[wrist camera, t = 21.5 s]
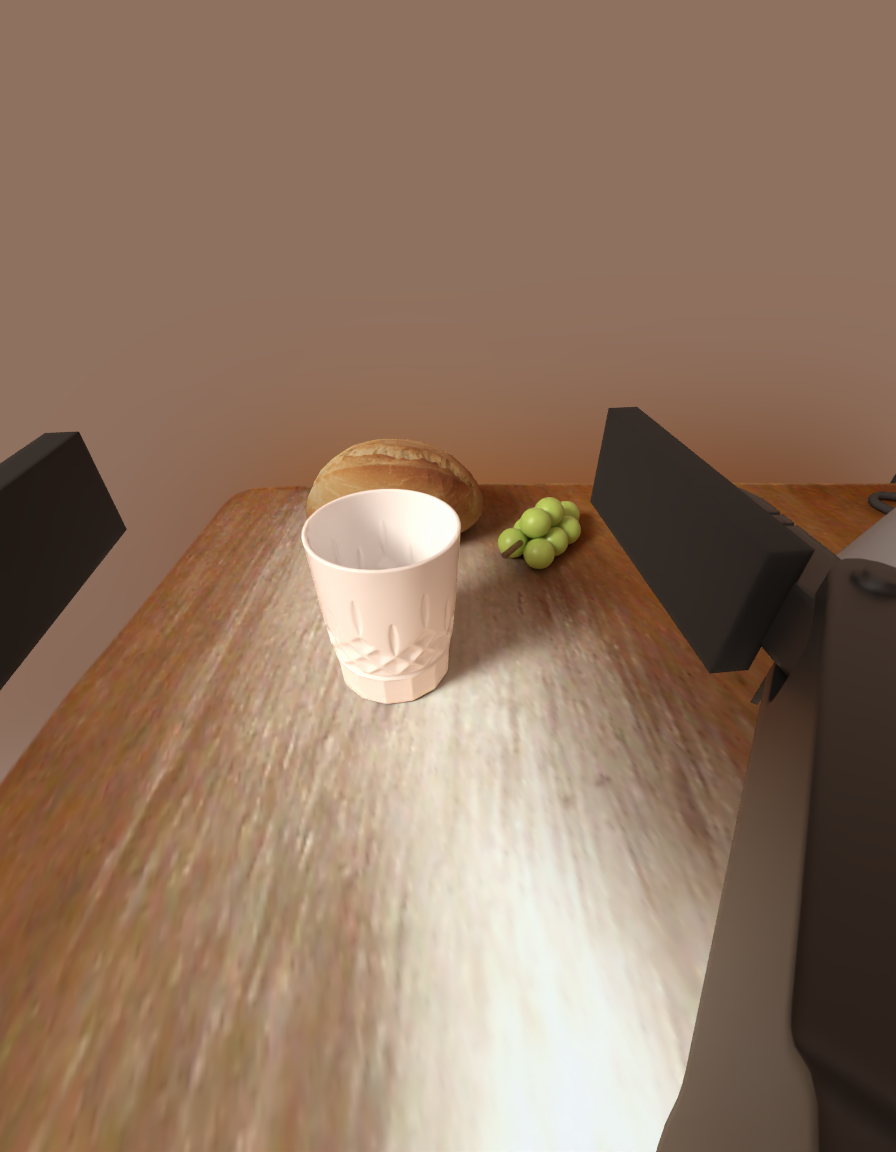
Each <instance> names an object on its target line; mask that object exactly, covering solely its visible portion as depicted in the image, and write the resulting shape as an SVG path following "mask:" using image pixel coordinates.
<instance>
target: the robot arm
mask: <svg viewBox="0 0 896 1152" xmlns="http://www.w3.org/2000/svg"><path fill="white" fill-rule="evenodd" d="M890 483H896V474H895V475H894V477H893V479H892V481H891V482H890ZM879 499H887V500H895V501H896V493H894V492H877V493H873V494H872V495H870V496H869V498H868V502H869V503H870V505H872V506H873V507H874V508H876V509H878V510H880V511H882V512H884V513H886V514H887V515H885V516H884V517H883V518H882V519H880V520H879V521H878V522H877V523H875V524H874V525H873V526H872V527H870V528H869V529H868V530H867V531H865V532H864V533H863V534H862V535H860V536H859V537H858V538H857V539H855V540H854V541H853V542H852V543H850V544H849V545H848V546H847V547H845V548H844V549H843V550H842V551H840V552H839V553H838V554H837V555H835V554H834V553H832V552H831V551H830V550H828V549H827V548H826V547H825V546H823V545H822V544H821V543H819V542H818V541H817V540H816V539H814V538H813V537H812V536H810V535H809V534H808V533H807V532H805V531H804V530H803V529H801V528H800V527H799V526H794V522H792V521H791V520H790V519H789V518H787V517H786V516H785V515H780V511H778V510H777V509H776V508H774V507H773V506H772V505H771V504H769V503H768V502H767V501H765V500H764V499H763V498H760V497H758V496H756V495H754V494H752V493H750V492H747V491H745V490H743V489H741V488H737V487H736V486H735V485H734V484H732V483H731V482H730V481H729V480H727V479H726V478H725V477H724V476H722V475H721V474H720V473H719V472H717V471H716V470H715V469H713V468H712V467H711V466H710V465H709V464H707V463H706V462H705V461H704V460H702V459H701V458H700V457H699V456H697V455H696V454H695V453H694V452H692V451H691V450H690V449H688V447H686V446H685V445H684V444H682V443H681V442H680V441H679V440H678V439H676V438H675V437H674V436H672V435H671V434H670V433H669V432H668V431H666V430H665V429H664V428H662V427H661V426H660V425H659V424H658V423H656V422H655V421H654V420H653V419H651V418H650V417H649V416H648V415H646V414H645V413H644V412H643V411H641V410H640V409H639V408H638V407H624V408H609V410H608V415H607V420H606V425H605V430H604V435H603V440H602V445H601V450H600V455H599V460H598V466H597V470H596V476H595V481H594V486H593V491H592V496H591V501H590V502H591V503H592V505H593V506H594V507H595V509H596V510H597V512H598V513H599V515H600V516H601V518H602V519H603V520H604V522H605V523H606V525H607V526H608V528H609V529H610V530H611V532H612V533H613V535H614V536H615V538H616V539H617V541H618V542H619V543H620V545H621V546H622V548H623V549H624V551H625V552H626V553H627V555H628V556H629V558H630V559H631V561H632V562H633V564H634V565H635V566H636V568H637V569H638V571H639V572H640V574H641V575H642V577H643V578H644V579H645V581H646V582H647V584H648V585H649V587H650V588H651V589H652V591H653V592H654V594H655V595H656V597H657V598H658V600H659V601H660V602H661V604H662V605H663V607H664V608H665V610H666V611H667V612H668V614H669V615H670V617H671V618H672V620H673V621H674V623H675V624H676V625H677V627H678V628H679V630H680V631H681V633H682V634H683V635H684V637H685V638H686V640H687V641H688V643H689V644H690V646H691V647H692V648H693V650H694V651H695V653H696V654H697V656H698V657H699V659H700V660H701V661H702V663H703V664H704V666H705V667H706V669H707V670H708V671H709V673H719V672H730V671H741V670H748V669H749V668H750V666H751V664H752V662H753V660H754V659H755V657H756V655H757V653H758V651H759V650H760V648H761V646H762V647H763V649H764V650H765V651H766V652H767V653H768V654H769V656H770V657H771V658H772V659H773V660H774V661H775V662H774V664H773V665H772V667H771V669H770V670H769V672H768V674H767V675H766V677H765V679H764V680H763V682H762V684H761V685H760V687H759V689H758V690H757V692H756V694H755V695H754V697H753V699H752V700H751V703H754V704H756V705H757V704H758V703H759V701H760V700H761V704H760V709H759V714H758V719H757V724H756V729H755V733H754V738H753V743H752V748H751V753H750V758H749V763H748V768H747V773H746V778H745V783H744V787H743V792H742V797H741V802H740V807H739V812H738V817H737V822H736V827H735V832H734V837H733V841H732V846H731V851H730V856H729V861H728V866H727V871H726V876H725V881H724V886H723V891H722V896H721V900H720V905H719V910H718V915H717V920H716V925H715V930H714V935H713V940H712V945H711V950H710V954H709V959H708V964H707V969H706V974H705V979H704V984H703V989H702V994H701V999H700V1004H699V1008H698V1013H697V1018H696V1023H695V1028H694V1033H693V1038H692V1043H691V1048H690V1053H689V1058H688V1062H687V1067H686V1072H685V1076H684V1080H683V1084H682V1087H681V1090H680V1093H679V1096H678V1098H677V1100H676V1102H675V1105H674V1107H673V1109H672V1111H671V1113H670V1115H669V1117H668V1119H667V1121H666V1123H665V1126H664V1129H663V1132H662V1135H661V1138H660V1141H659V1144H658V1147H657V1151H656V1152H896V507H895V508H894V507H891V506H889V505H887V504H885V503H883V502H881V501H880V500H879ZM125 531H126V527H125V525H124V523H123V521H122V519H121V517H120V515H119V513H118V511H117V509H116V506H115V505H114V502H113V500H112V499H111V496H110V494H109V492H108V490H107V488H106V486H105V484H104V482H103V480H102V478H101V476H100V474H99V472H98V470H97V468H96V466H95V464H94V462H93V460H92V457H91V455H90V453H89V451H88V449H87V447H86V445H85V443H84V441H83V439H82V437H81V435H80V433H79V432H60V433H44V434H43V435H42V436H40V437H39V438H37V439H36V440H34V441H33V442H31V443H30V444H28V445H27V446H26V447H24V448H22V449H21V450H19V451H18V452H17V453H15V454H14V455H12V456H11V457H9V458H8V459H6V460H5V461H3V462H2V463H0V690H1V689H2V687H3V686H4V685H5V684H6V682H7V681H8V680H9V678H10V677H11V676H12V675H13V673H14V672H15V671H16V670H17V668H18V667H19V666H20V665H21V663H22V662H23V661H24V659H25V658H26V657H27V656H28V654H29V653H30V652H31V651H32V649H33V648H34V647H35V645H36V644H37V643H38V642H39V640H40V639H41V638H42V637H43V635H44V634H45V633H46V631H47V630H48V629H49V628H50V626H51V625H52V624H53V623H54V621H55V620H56V619H57V617H58V616H59V615H60V613H61V612H62V611H63V610H64V609H65V607H66V606H67V605H68V603H69V602H70V601H71V600H72V598H73V597H74V596H75V595H76V593H77V592H78V591H79V589H80V588H81V587H82V585H83V584H84V583H85V582H86V580H87V579H88V578H89V577H90V575H91V574H92V573H93V572H94V570H95V569H96V568H97V566H98V565H99V564H100V563H101V561H102V560H103V559H104V558H105V556H106V555H107V554H108V552H109V551H110V550H111V549H112V547H113V546H114V545H115V544H116V542H117V541H118V540H119V538H120V537H121V536H122V535H123V533H124V532H125ZM761 698H762V699H761Z"/></svg>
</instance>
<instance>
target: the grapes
mask: <svg viewBox="0 0 896 1152" xmlns="http://www.w3.org/2000/svg"><path fill="white" fill-rule="evenodd" d="M579 518H580V512H579V509H578V507H577V506H576V505H575V504H574V503H572V502H569V501H563V502H560V501H559V500H557V499H555V498H552V497H547V498H543V499H541V500H540V501H539V502H538V503H537V504H536V506H535V507H534V508H530V509H528V510H526V511H525V512H524V513H523V515H522V516H521V519H519V520H518V521H517V522H516V523H515V525H514V527H513V528H509V529H506V530H505V531H503V532H502V533H501V535H500V536H499V539H498V547H499V550H500V551H501V553H502V556H503V557H504V558H508V557H510V558H516V557H519V556H521V555H522V554H523V555H524V559H525V561H526V563H527V564H528V565H529V566H530V567H532V568H535V569H543V568H546V567H548V566H549V565H550V564H551V563H552V561H553V560H554V556H558V555H560V554H562V553H563V552H564V551H565V550H566V548H567V546H568V544H571V543H573V542H575V541H576V540H577V539H578V538H579V536H580V533H581V526H580V524H579V522H578V520H579Z"/></svg>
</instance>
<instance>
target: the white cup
mask: <svg viewBox="0 0 896 1152" xmlns="http://www.w3.org/2000/svg"><path fill="white" fill-rule="evenodd" d="M460 533H461V522H460V519H459V516H458V515H457V513H456V512H455V510H454V509H453V508H452V507H451V506H449V505H448V504H447V503H445V502H444V501H442V500H440V499H438V498H436V497H434V496H431V495H428V494H425V493H422V492H417V491H412V490H404V489H376V490H367V491H362V492H357V493H353V494H349V495H346V496H343V497H340V498H337V499H335V500H333V501H331V502H329V503H327V504H325V505H324V506H322V507H320V508H319V509H318V510H316V511H315V512H314V513H313V514H312V515H311V516H310V517H309V518H308V519H307V521H306V522H305V524H304V526H303V529H302V543H303V546H304V550H305V553H306V557H307V560H308V564H309V568H310V571H311V574H312V578H313V581H314V585H315V589H316V593H317V596H318V600H319V605H320V608H321V611H322V614H323V616H324V620H325V624H326V628H327V631H328V633H329V636H330V640H331V644H332V646H333V647H334V649H335V651H336V654H337V656H338V660H339V663H340V667H341V670H342V673H343V677H344V680H345V683H346V685H348V686H349V687H350V688H351V689H352V690H353V691H355V692H356V693H357V694H358V695H359V696H361V697H362V698H364V699H368V700H372V701H376V702H380V703H384V704H392V703H400V702H407V701H413V700H415V699H417V698H419V697H421V696H422V695H424V694H426V693H428V692H430V691H432V690H433V689H435V688H436V686H437V685H438V683H439V682H440V681H441V679H442V678H443V677H444V675H445V674H446V673H447V671H448V660H449V647H450V638H451V635H452V632H453V622H454V615H455V601H456V595H457V575H458V560H459V548H460Z"/></svg>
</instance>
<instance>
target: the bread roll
mask: <svg viewBox="0 0 896 1152" xmlns="http://www.w3.org/2000/svg"><path fill="white" fill-rule="evenodd" d="M376 489H404V490H412V491H417V492H422V493H425V494H428V495H431V496H434V497H436V498H438V499H440V500H442V501H444V502H445V503H447V504H448V505H449V506H451V507H452V508H453V509H454V510H455V512H456V513H457V515H458V516H459V519H460V522H461V532H464V531H465V530H467V529H469V528H470V527H471V526H472V525H473V524H474V523H476V522H477V520H478V519H479V517H480V515H481V513H482V509H483V498H482V494H481V492H480V489H479V487H478V484H477V482H476V480H475V479H474V478H473V476H472V474H471V473H470V472H469V471H468V470H467V469H466V468H465V467H464V466H463V465H462V464H461V463H460V462H458V461H457V460H456V459H455V458H454V457H453V456H451V455H449V454H447V453H445V452H444V451H442V450H441V449H439V448H436V447H434V446H432V445H430V444H427V443H425V442H419V441H414V440H407V439H379V440H371V441H367V442H363V443H360V444H357V445H354V446H352V447H349V448H348V449H347V450H345V451H344V452H342V453H340V454H339V455H337V456H336V457H335V458H333V459H332V460H331V461H330V462H329V463H328V464H327V465H326V466H325V467H324V468H323V469H322V470H321V471H320V473H319V475H318V477H317V479H316V480H315V482H314V483H313V488H312V490H311V492H310V494H309V496H308V499H307V506H306V515H307V519H308V518H309V517H310V516H311V515H312V514H313V513H314V512H315V511H316V510H318V509H319V508H320V507H322V506H324V505H325V504H327V503H329V502H331V501H333V500H335V499H337V498H340V497H343V496H346V495H349V494H353V493H357V492H362V491H367V490H376Z"/></svg>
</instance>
